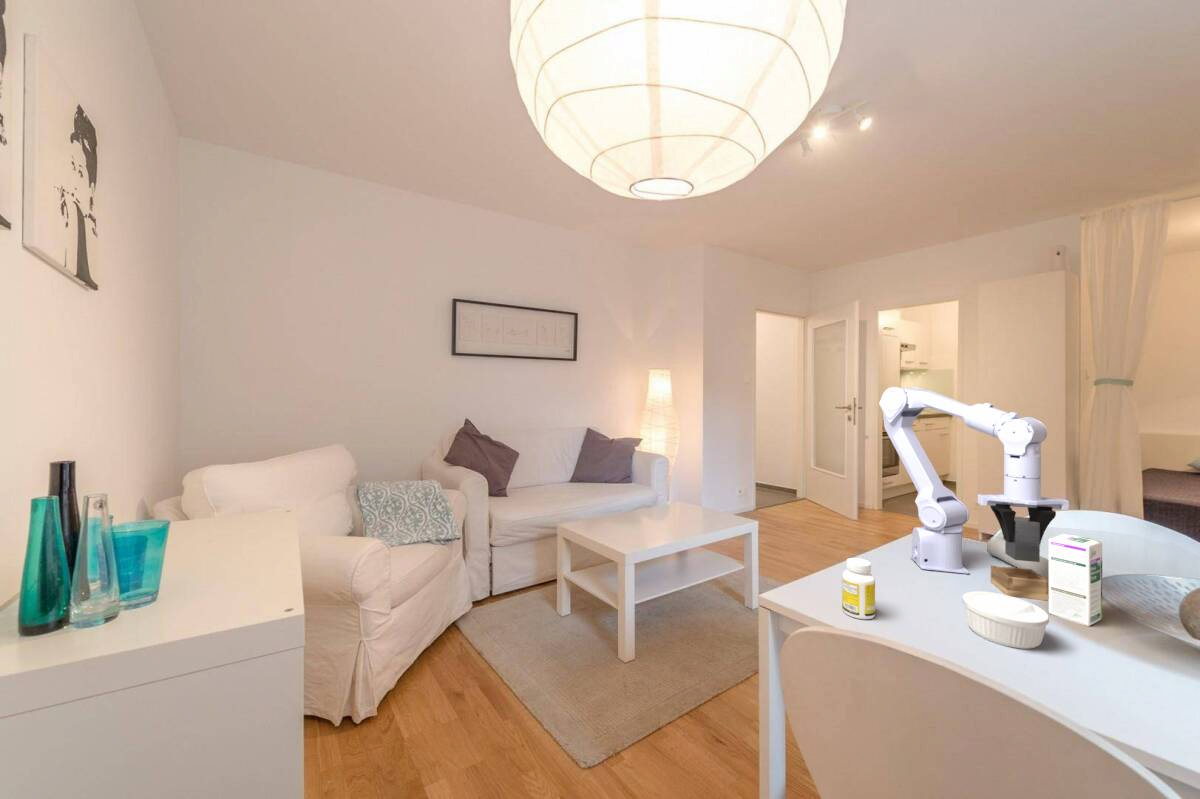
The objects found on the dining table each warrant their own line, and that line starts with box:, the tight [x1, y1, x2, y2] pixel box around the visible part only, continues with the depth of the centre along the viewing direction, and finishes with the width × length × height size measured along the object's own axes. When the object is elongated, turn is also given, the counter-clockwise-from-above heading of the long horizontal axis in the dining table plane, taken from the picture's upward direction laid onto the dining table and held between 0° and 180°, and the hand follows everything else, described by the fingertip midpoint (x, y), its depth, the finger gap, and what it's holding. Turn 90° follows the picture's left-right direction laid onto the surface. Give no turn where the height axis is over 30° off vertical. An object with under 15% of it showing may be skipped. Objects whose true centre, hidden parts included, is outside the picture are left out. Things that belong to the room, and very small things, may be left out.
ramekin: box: [961, 590, 1050, 650], centre depth 81 cm, size 11×11×5 cm
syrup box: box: [1048, 533, 1103, 627], centre depth 87 cm, size 6×6×14 cm
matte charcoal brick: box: [1005, 516, 1041, 562], centre depth 97 cm, size 4×4×8 cm
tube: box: [986, 536, 1049, 580], centre depth 106 cm, size 5×5×25 cm
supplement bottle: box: [841, 557, 876, 620], centre depth 88 cm, size 5×5×10 cm
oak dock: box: [990, 565, 1049, 602], centre depth 98 cm, size 7×7×4 cm
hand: (1021, 541), depth 97 cm, fingers closed on matte charcoal brick, 4 cm apart
